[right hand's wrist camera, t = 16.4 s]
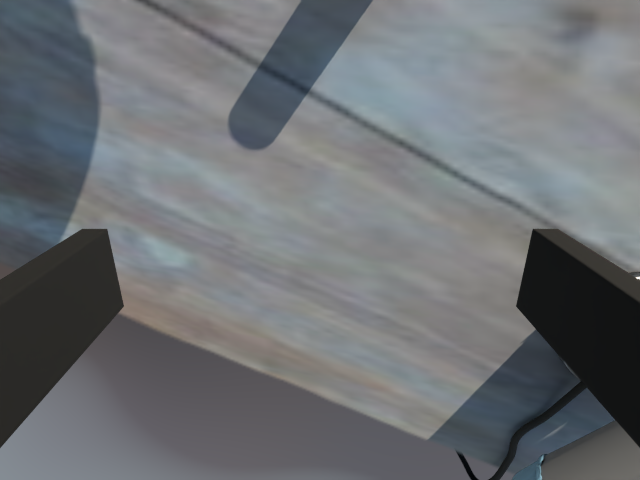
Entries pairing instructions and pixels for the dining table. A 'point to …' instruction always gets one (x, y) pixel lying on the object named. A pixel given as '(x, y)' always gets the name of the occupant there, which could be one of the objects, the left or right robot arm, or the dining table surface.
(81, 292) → the right robot arm
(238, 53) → the dining table surface
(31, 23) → the dining table surface
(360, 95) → the dining table surface
